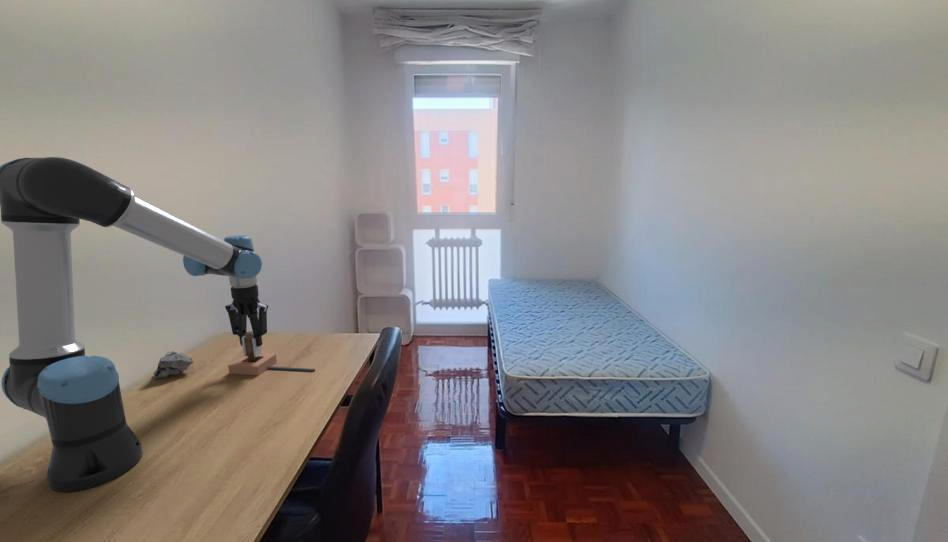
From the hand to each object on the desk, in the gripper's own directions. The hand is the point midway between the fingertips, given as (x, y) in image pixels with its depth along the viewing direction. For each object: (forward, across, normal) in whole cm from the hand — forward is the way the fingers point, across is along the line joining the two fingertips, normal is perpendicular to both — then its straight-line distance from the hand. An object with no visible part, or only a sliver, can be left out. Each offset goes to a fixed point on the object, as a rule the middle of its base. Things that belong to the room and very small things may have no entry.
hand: (252, 355), depth 139 cm
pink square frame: (+4, 0, 0) cm, 4 cm away
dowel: (+4, 0, 0) cm, 4 cm away
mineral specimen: (+5, +22, +7) cm, 24 cm away
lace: (+4, -13, 0) cm, 14 cm away
